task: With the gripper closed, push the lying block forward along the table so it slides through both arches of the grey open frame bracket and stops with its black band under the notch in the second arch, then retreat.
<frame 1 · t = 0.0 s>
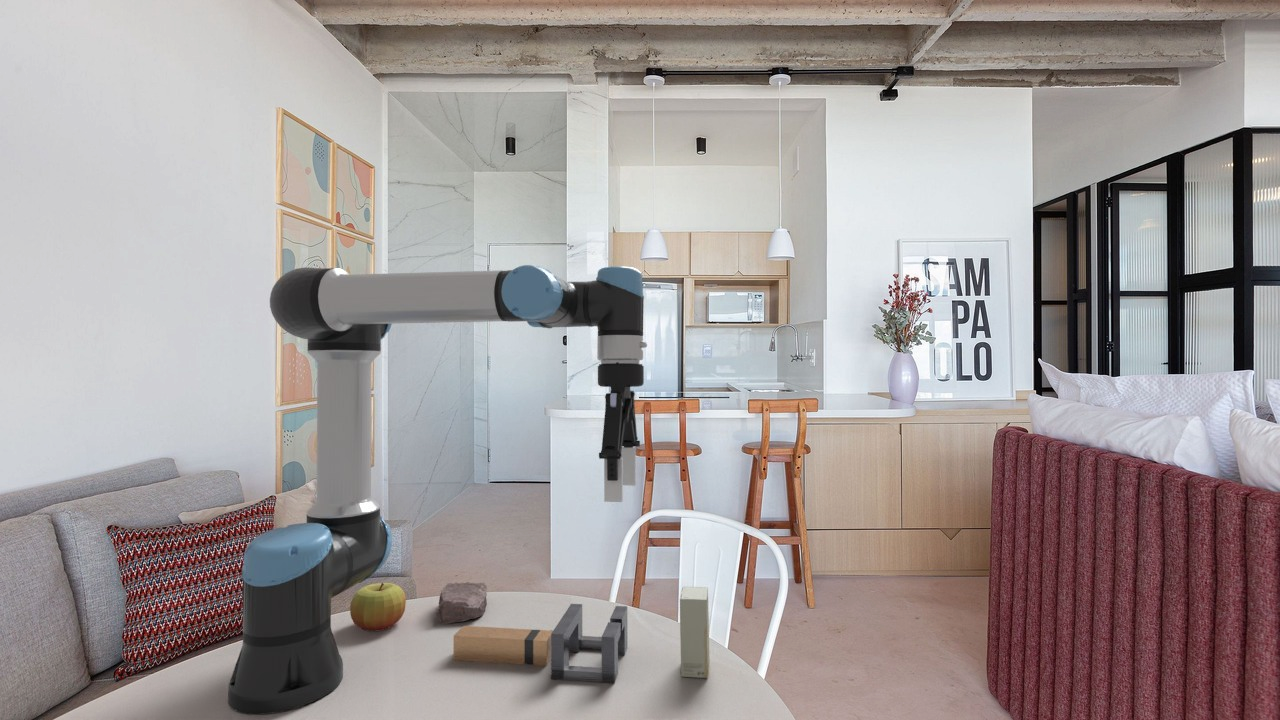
hand: (621, 492, 100), 28 cm above the table, fingers open, 13 cm apart
stone: (463, 613, 123), on the table
skincare box: (695, 670, 99), on the table
apple: (378, 627, 116), on the table
grey open frame bracket: (591, 662, 101), on the table
block: (503, 657, 103), on the table
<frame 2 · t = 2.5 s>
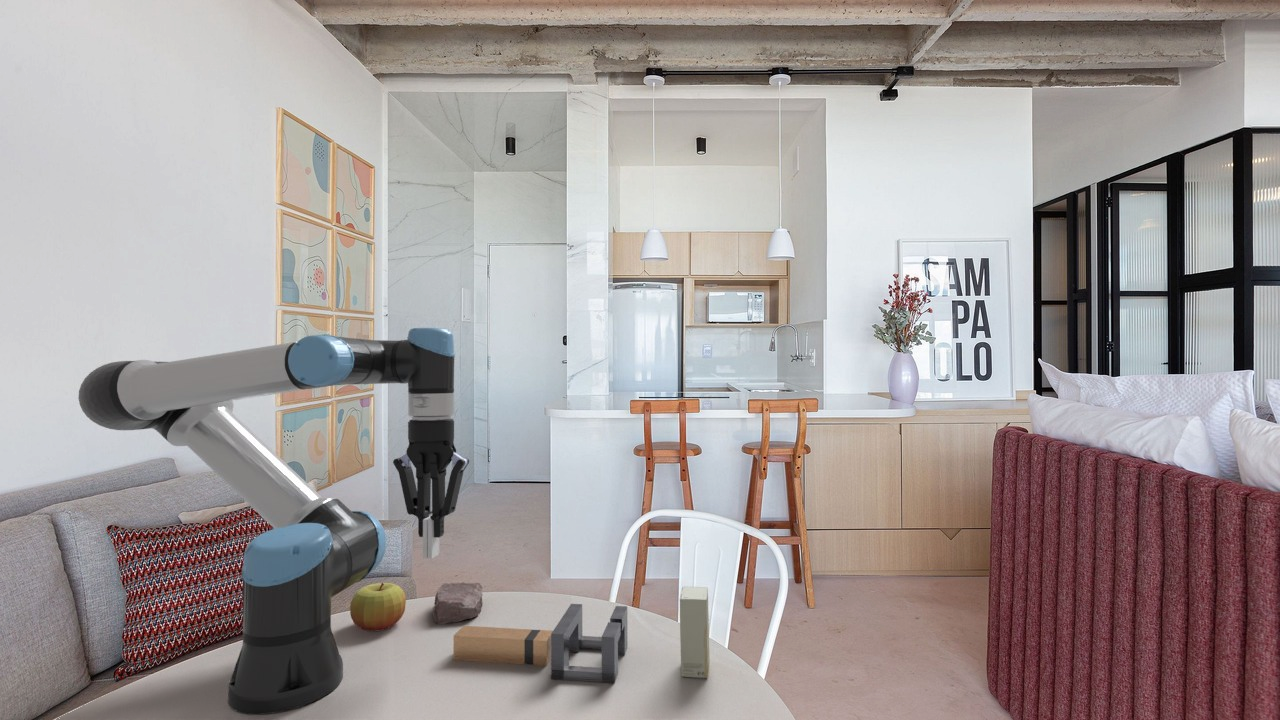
hand: (431, 555, 105), 16 cm above the table, fingers closed
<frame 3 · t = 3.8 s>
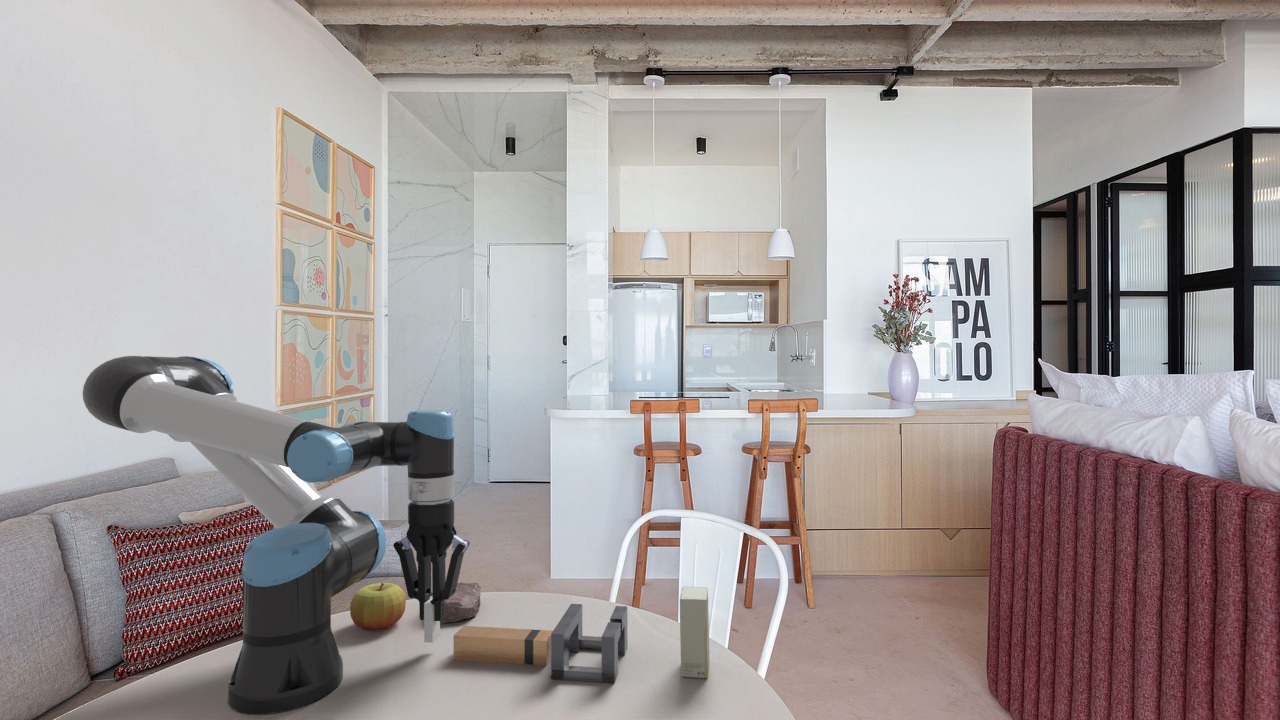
hand: (432, 638, 105), 2 cm above the table, fingers closed
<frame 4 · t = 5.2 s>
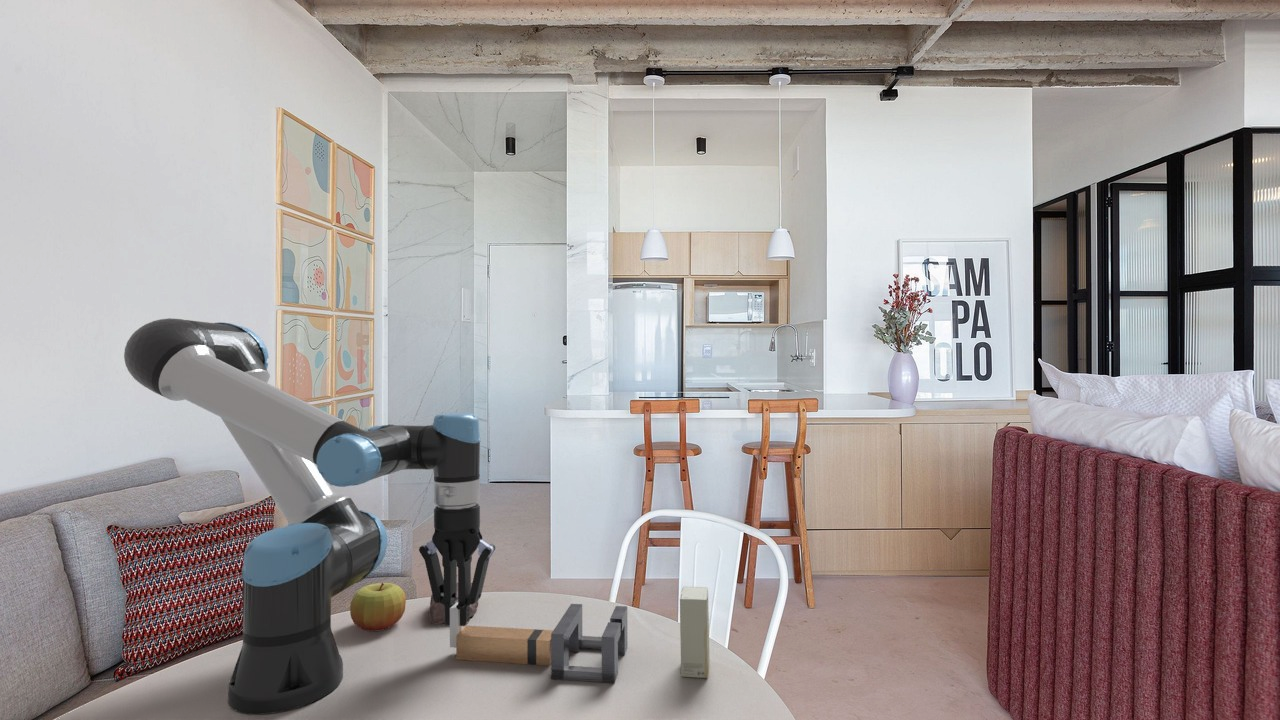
hand: (457, 643, 105), 2 cm above the table, fingers closed
block: (506, 656, 103), on the table, touching gripper
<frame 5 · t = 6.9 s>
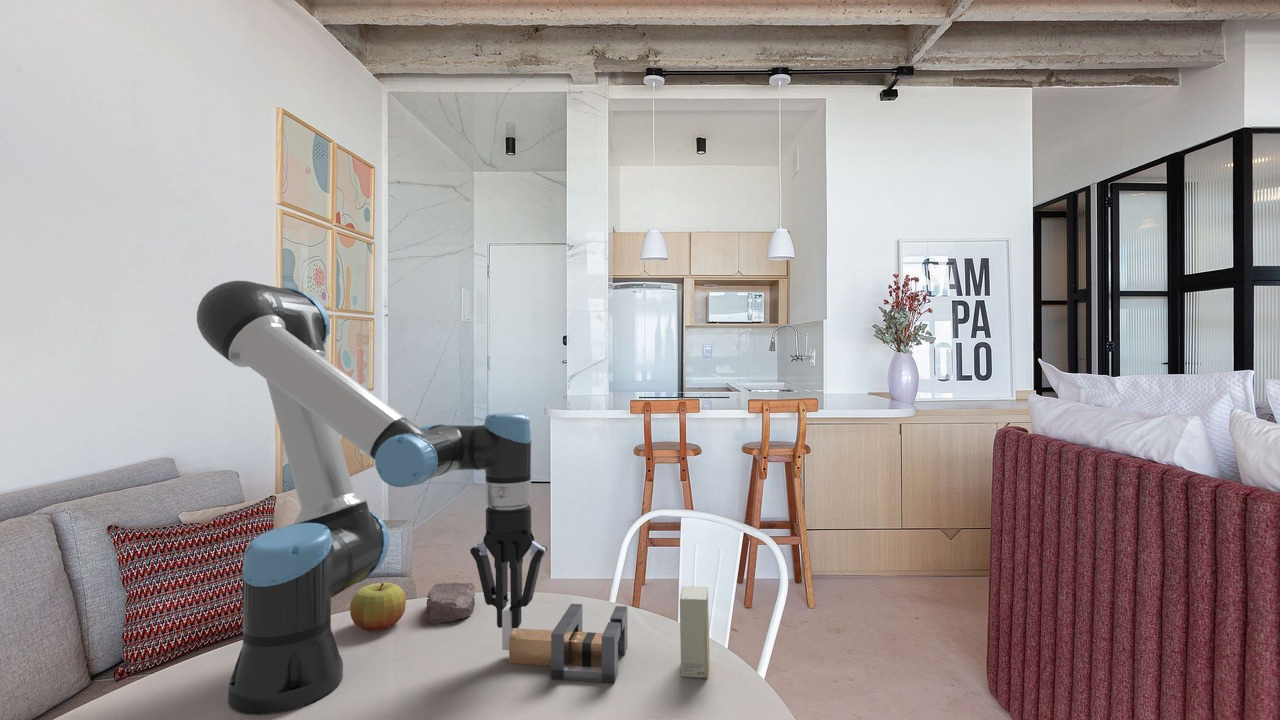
hand: (509, 646, 103), 2 cm above the table, fingers closed
block: (559, 660, 102), on the table, touching gripper
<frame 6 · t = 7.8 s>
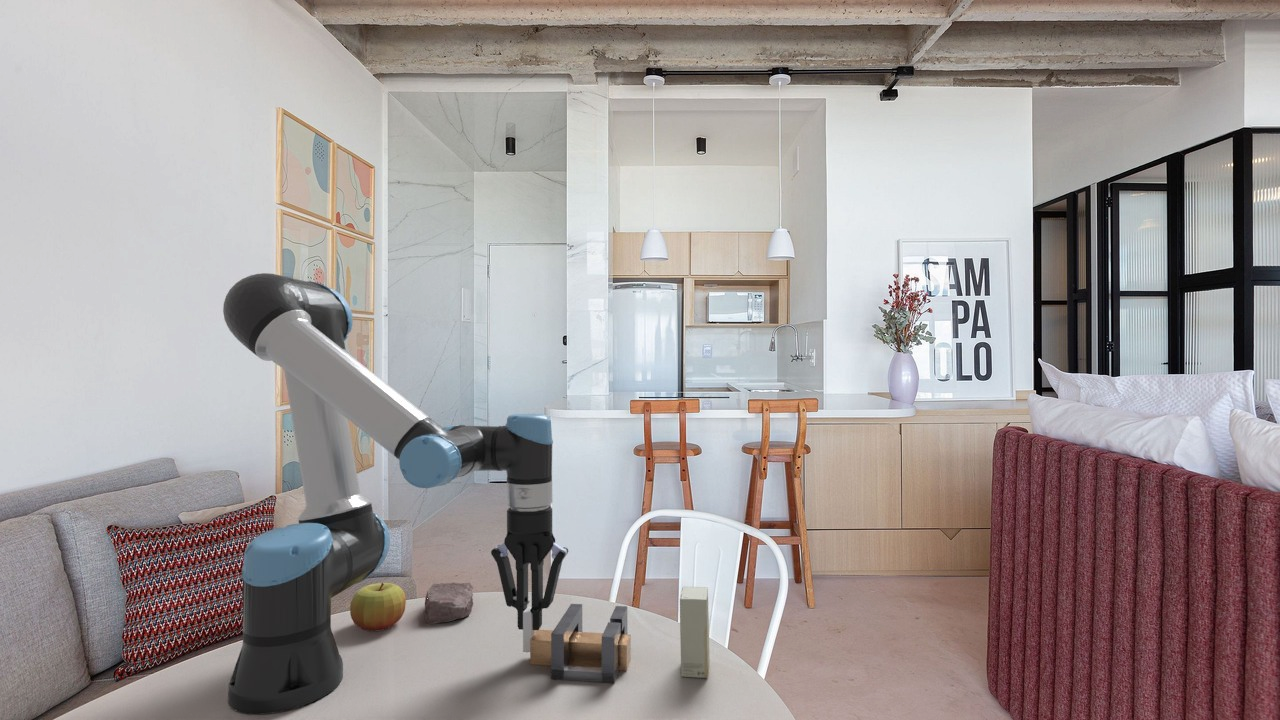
hand: (529, 648, 103), 2 cm above the table, fingers closed
block: (580, 661, 102), on the table, touching gripper
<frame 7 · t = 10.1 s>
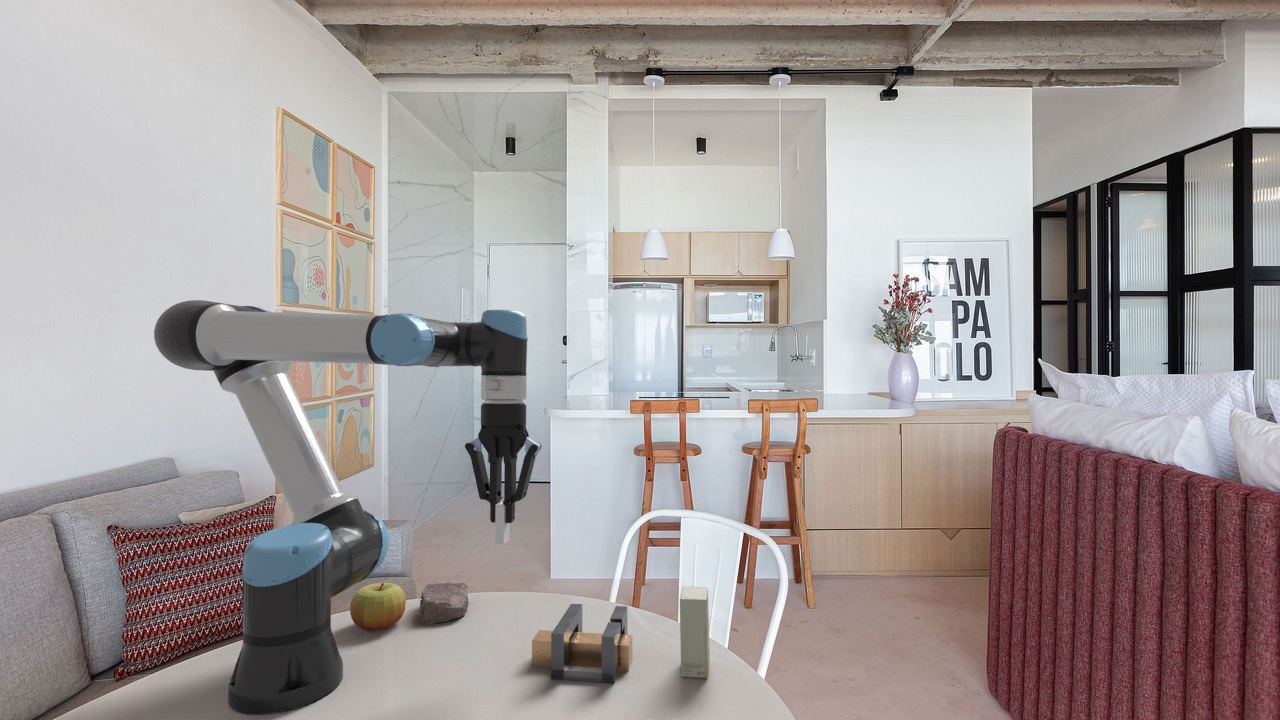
hand: (502, 541, 104), 19 cm above the table, fingers closed
block: (582, 662, 101), on the table
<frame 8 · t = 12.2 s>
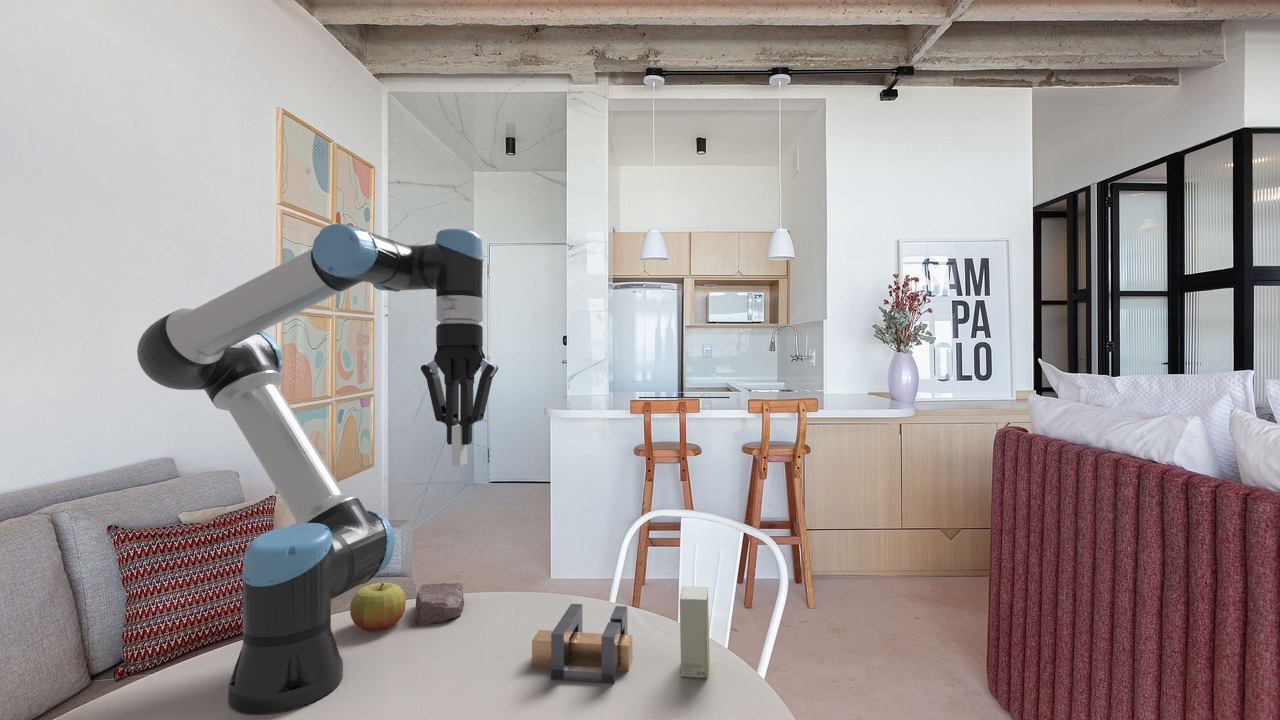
hand: (459, 464, 103), 32 cm above the table, fingers closed
at the end: block 0.5 cm from the target spot, on the table; the gripper is holding nothing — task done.
